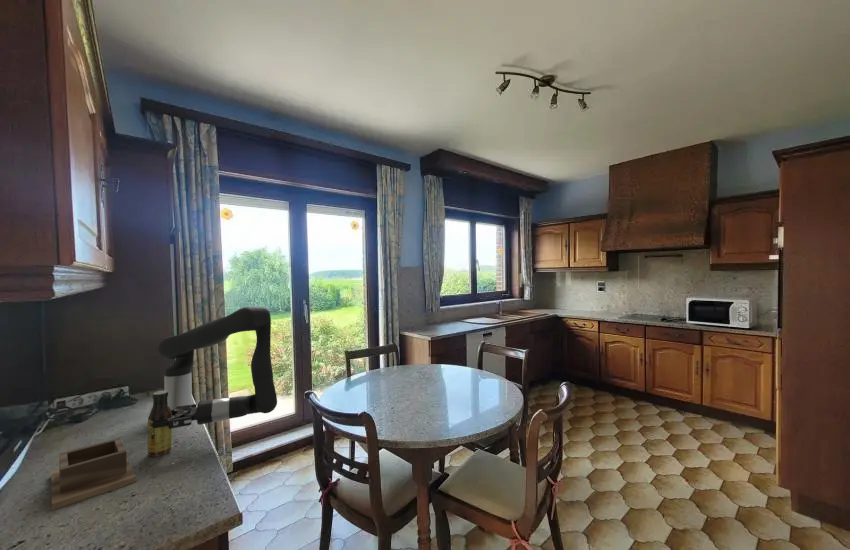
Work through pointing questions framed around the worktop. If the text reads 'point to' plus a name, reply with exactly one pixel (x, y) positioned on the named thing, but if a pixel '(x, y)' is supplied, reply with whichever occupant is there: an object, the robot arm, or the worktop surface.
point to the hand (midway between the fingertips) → (155, 419)
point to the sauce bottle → (163, 435)
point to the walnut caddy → (90, 472)
